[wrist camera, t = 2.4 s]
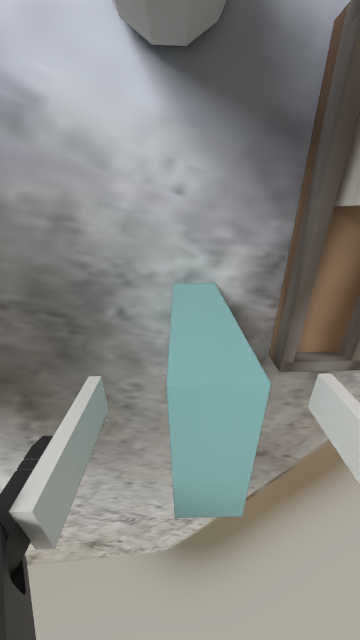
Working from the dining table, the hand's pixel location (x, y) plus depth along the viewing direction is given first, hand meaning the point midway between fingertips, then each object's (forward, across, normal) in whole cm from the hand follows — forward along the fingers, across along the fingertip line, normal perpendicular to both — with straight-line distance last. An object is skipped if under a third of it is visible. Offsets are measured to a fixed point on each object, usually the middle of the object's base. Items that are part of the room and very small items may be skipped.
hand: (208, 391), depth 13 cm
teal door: (+8, 0, 0) cm, 8 cm away
